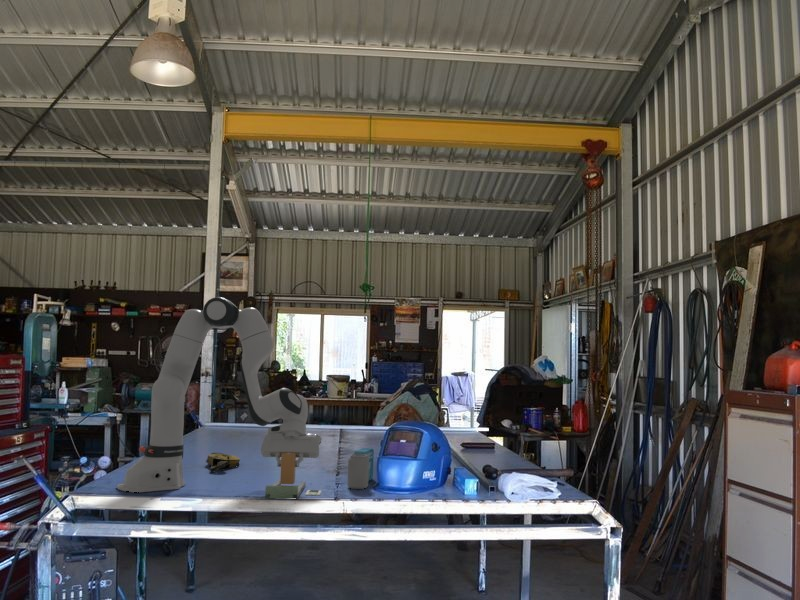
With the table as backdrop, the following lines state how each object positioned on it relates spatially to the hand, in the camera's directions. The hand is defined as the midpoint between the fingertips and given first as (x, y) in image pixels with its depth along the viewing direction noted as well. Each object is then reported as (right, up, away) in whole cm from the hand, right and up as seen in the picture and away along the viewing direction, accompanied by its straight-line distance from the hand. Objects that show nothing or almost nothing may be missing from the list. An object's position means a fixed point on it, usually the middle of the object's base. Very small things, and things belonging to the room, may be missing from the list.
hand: (288, 465), depth 228 cm
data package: (+24, -13, +28) cm, 39 cm away
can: (+23, -12, +13) cm, 29 cm away
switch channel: (+2, -10, +2) cm, 10 cm away
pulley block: (-36, -13, +49) cm, 62 cm away
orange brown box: (0, -6, 0) cm, 6 cm away
